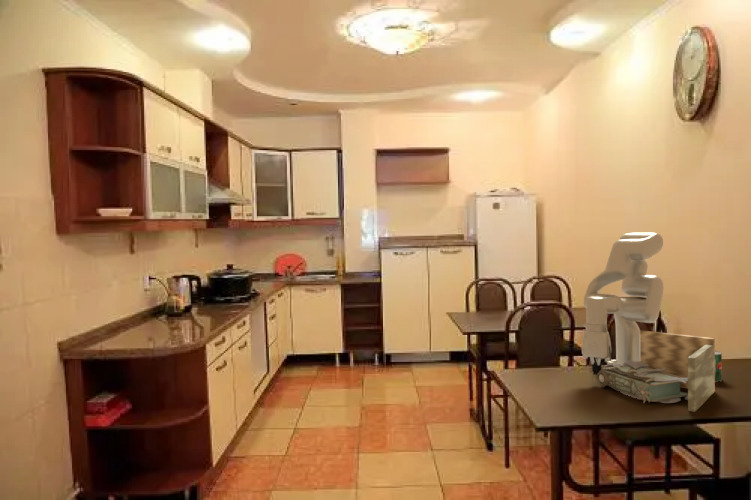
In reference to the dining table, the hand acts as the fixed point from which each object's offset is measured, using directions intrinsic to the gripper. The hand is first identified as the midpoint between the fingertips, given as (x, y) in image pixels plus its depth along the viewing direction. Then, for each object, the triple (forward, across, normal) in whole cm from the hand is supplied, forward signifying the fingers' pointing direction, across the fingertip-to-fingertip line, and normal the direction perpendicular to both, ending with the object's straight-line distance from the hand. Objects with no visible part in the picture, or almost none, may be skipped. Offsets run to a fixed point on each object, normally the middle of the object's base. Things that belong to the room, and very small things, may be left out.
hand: (596, 374), depth 204 cm
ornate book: (+5, +17, +2) cm, 18 cm away
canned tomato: (+4, +31, +36) cm, 47 cm away
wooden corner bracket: (+4, +24, +4) cm, 24 cm away
